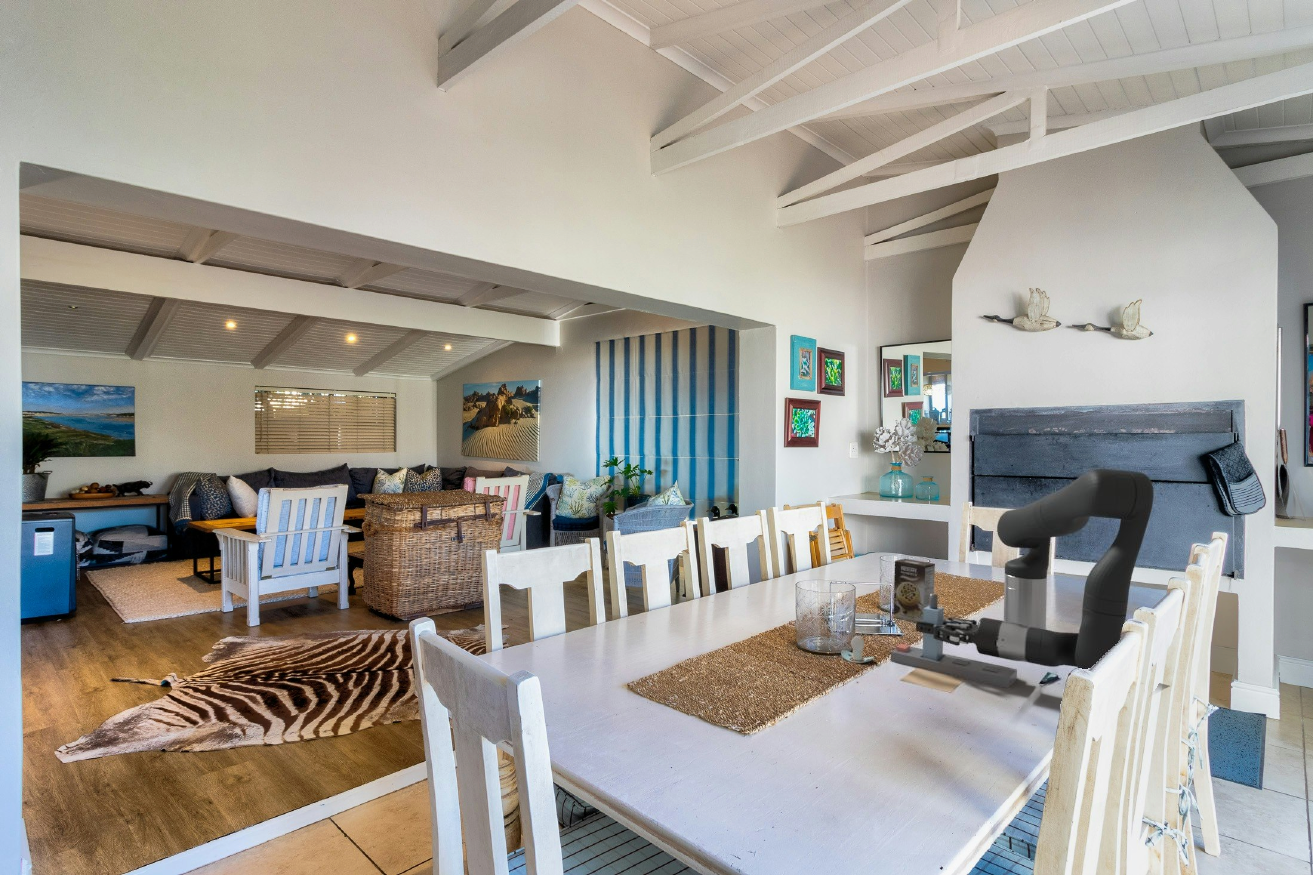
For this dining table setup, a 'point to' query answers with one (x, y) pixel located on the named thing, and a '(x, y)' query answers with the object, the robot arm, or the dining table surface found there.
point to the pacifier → (856, 651)
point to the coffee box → (912, 588)
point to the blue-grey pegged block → (931, 645)
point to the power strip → (956, 666)
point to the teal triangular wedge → (1048, 678)
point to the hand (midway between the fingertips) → (920, 623)
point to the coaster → (933, 680)
